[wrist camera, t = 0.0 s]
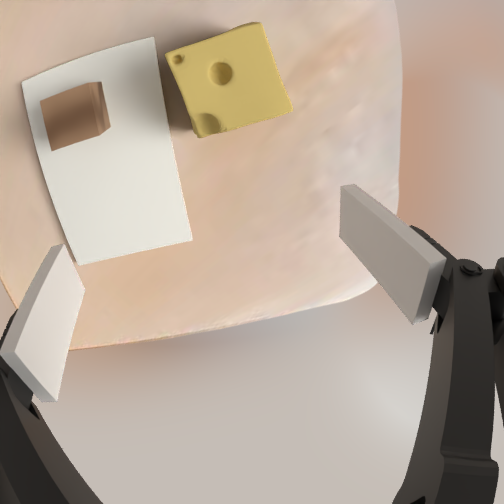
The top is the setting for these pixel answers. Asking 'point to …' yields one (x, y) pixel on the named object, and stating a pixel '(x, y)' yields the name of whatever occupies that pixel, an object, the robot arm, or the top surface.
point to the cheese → (229, 80)
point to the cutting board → (113, 157)
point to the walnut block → (75, 115)
